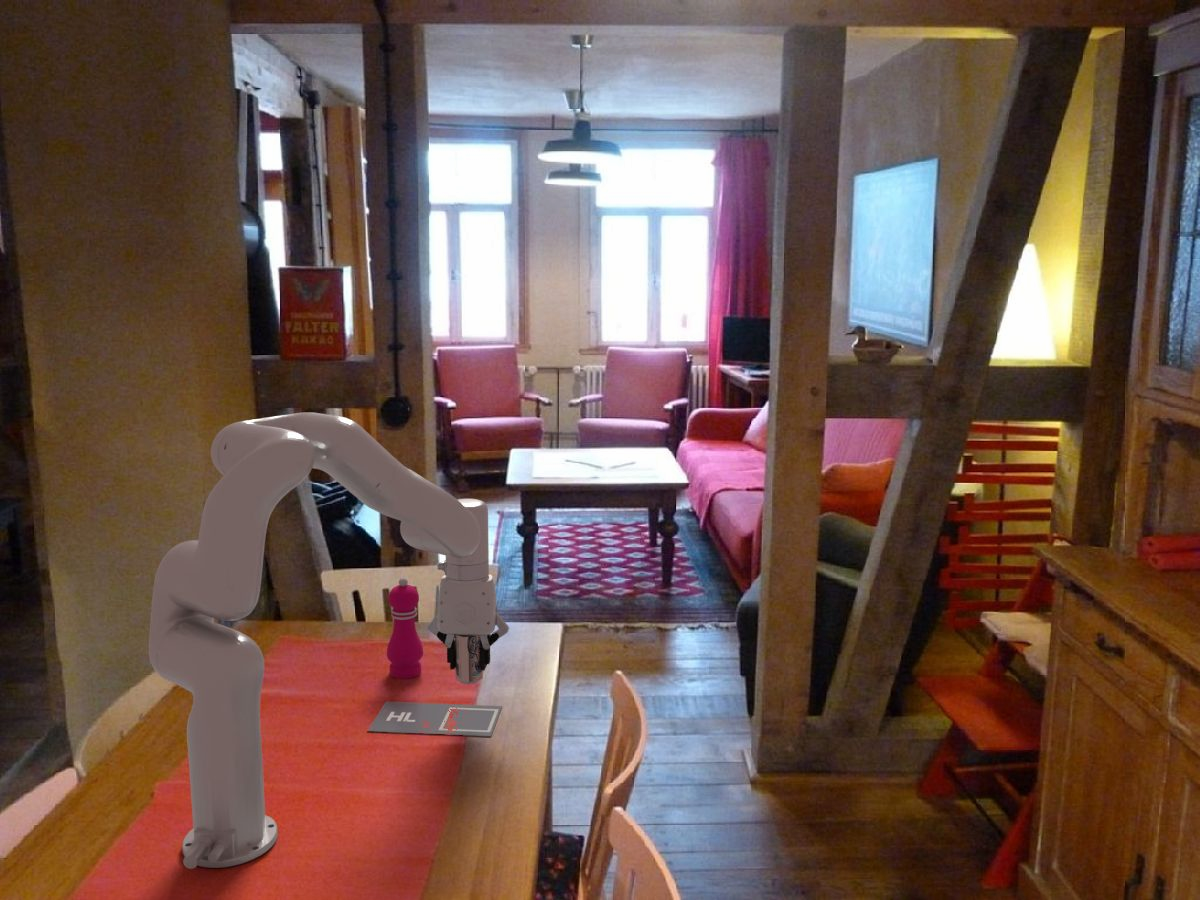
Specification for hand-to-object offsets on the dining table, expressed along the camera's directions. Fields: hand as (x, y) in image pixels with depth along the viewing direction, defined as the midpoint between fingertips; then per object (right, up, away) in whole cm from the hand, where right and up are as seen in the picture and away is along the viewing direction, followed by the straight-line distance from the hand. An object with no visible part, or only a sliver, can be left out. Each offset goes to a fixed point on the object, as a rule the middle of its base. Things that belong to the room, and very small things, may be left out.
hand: (468, 666), depth 176 cm
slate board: (-6, -10, +2) cm, 12 cm away
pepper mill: (-16, -7, +23) cm, 28 cm away
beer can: (0, -3, +1) cm, 3 cm away
